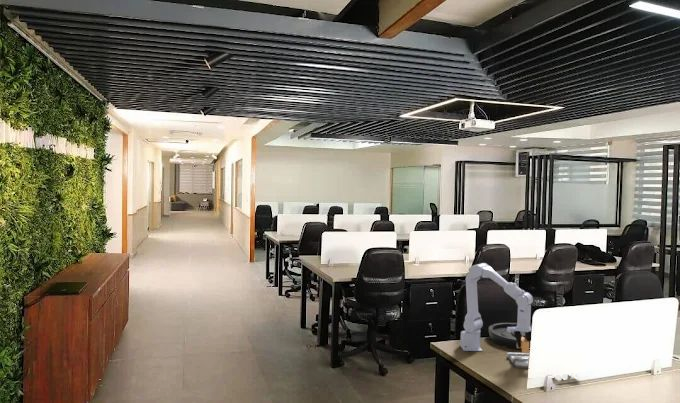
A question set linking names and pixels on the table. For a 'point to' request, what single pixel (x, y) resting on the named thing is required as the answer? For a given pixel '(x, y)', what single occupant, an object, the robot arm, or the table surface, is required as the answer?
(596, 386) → the table surface
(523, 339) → the orange notched block
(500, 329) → the grey bolted disc
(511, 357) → the slotted rail
